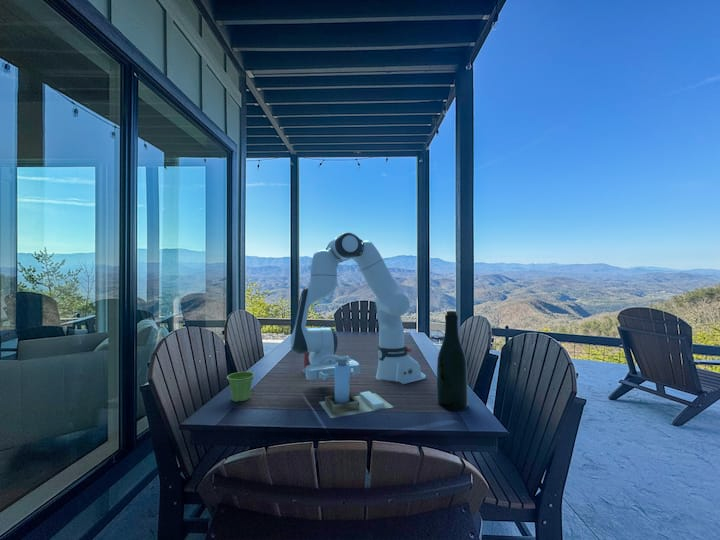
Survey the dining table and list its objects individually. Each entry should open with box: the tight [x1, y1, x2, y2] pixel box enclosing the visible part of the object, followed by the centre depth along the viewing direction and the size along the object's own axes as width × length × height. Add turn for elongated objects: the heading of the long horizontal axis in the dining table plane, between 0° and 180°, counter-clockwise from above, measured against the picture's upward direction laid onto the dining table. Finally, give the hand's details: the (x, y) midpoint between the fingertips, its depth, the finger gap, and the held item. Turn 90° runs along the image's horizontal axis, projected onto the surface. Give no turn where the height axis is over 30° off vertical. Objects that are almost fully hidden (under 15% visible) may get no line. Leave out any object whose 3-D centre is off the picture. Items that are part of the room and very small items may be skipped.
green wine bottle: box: [436, 310, 469, 412], centre depth 112 cm, size 10×10×33 cm
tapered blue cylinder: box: [334, 358, 350, 405], centre depth 108 cm, size 5×5×16 cm
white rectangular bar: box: [359, 390, 384, 409], centre depth 112 cm, size 4×12×2 cm, turn 23°
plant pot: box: [226, 371, 255, 403], centre depth 118 cm, size 9×9×9 cm
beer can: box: [303, 352, 310, 369], centre depth 155 cm, size 7×7×12 cm
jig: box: [318, 392, 394, 419], centre depth 109 cm, size 22×14×4 cm, turn 113°
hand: (339, 376), depth 110 cm, fingers open, 8 cm apart
